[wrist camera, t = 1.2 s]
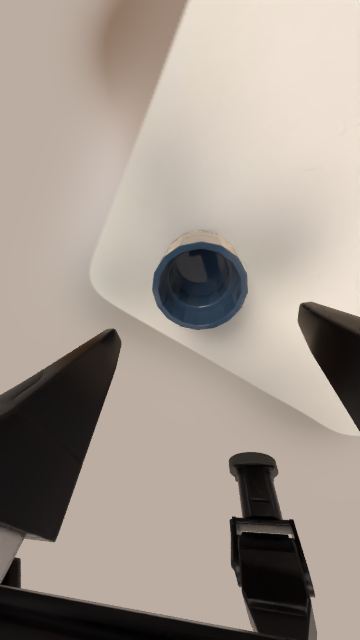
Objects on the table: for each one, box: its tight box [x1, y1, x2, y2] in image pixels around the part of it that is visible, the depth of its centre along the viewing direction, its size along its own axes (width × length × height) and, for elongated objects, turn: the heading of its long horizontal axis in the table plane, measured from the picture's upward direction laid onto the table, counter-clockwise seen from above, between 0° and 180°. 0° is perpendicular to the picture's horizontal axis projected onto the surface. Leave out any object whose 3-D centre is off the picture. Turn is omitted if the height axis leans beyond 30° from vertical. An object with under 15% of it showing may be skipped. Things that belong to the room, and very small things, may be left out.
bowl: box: [152, 230, 248, 330], centre depth 14 cm, size 6×6×4 cm
